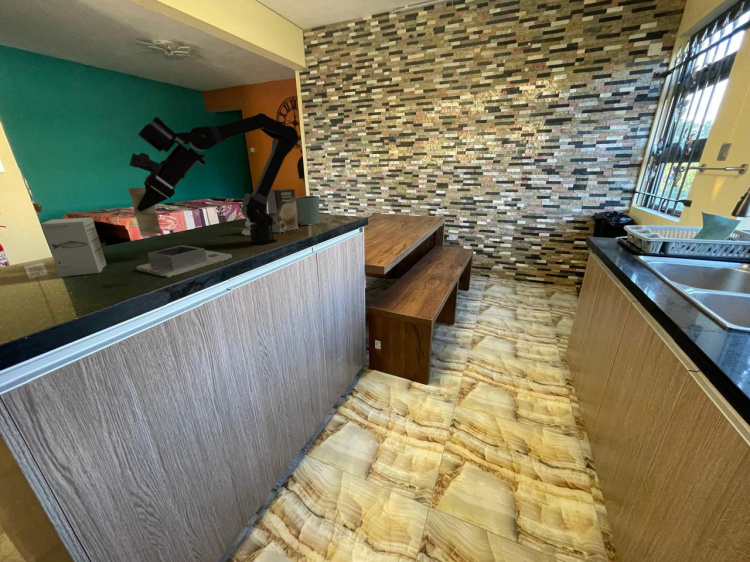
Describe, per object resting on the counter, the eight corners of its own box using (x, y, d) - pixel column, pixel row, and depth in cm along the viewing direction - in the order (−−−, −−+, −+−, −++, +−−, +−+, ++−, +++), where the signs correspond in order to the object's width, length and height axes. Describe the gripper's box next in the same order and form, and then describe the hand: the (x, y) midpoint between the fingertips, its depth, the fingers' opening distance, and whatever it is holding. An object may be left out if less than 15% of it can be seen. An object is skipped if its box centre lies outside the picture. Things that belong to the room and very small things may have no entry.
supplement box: (59, 278, 71) (38, 223, 66) (71, 269, 77) (52, 218, 72) (100, 273, 74) (82, 220, 69) (108, 265, 80) (92, 216, 76)
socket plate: (202, 253, 91) (200, 239, 90) (231, 257, 86) (229, 243, 85) (137, 270, 76) (132, 254, 74) (167, 277, 71) (163, 260, 70)
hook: (225, 222, 111) (231, 209, 115) (245, 244, 120) (250, 231, 124) (243, 218, 109) (248, 205, 113) (262, 241, 118) (266, 228, 122)
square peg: (160, 230, 88) (149, 187, 84) (161, 233, 85) (150, 188, 81) (141, 232, 86) (128, 188, 82) (141, 235, 82) (128, 189, 78)
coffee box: (280, 233, 118) (275, 190, 113) (270, 231, 122) (264, 189, 116) (298, 229, 125) (295, 188, 120) (288, 228, 129) (284, 188, 123)
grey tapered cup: (325, 223, 139) (323, 196, 135) (312, 227, 131) (310, 198, 127) (306, 221, 143) (304, 195, 139) (293, 225, 135) (290, 197, 130)
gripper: (146, 144, 87) (108, 186, 85) (146, 139, 72) (100, 190, 70) (184, 173, 94) (150, 213, 92) (191, 174, 79) (151, 221, 77)
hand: (138, 209), depth 82 cm, fingers closed on square peg, 5 cm apart
